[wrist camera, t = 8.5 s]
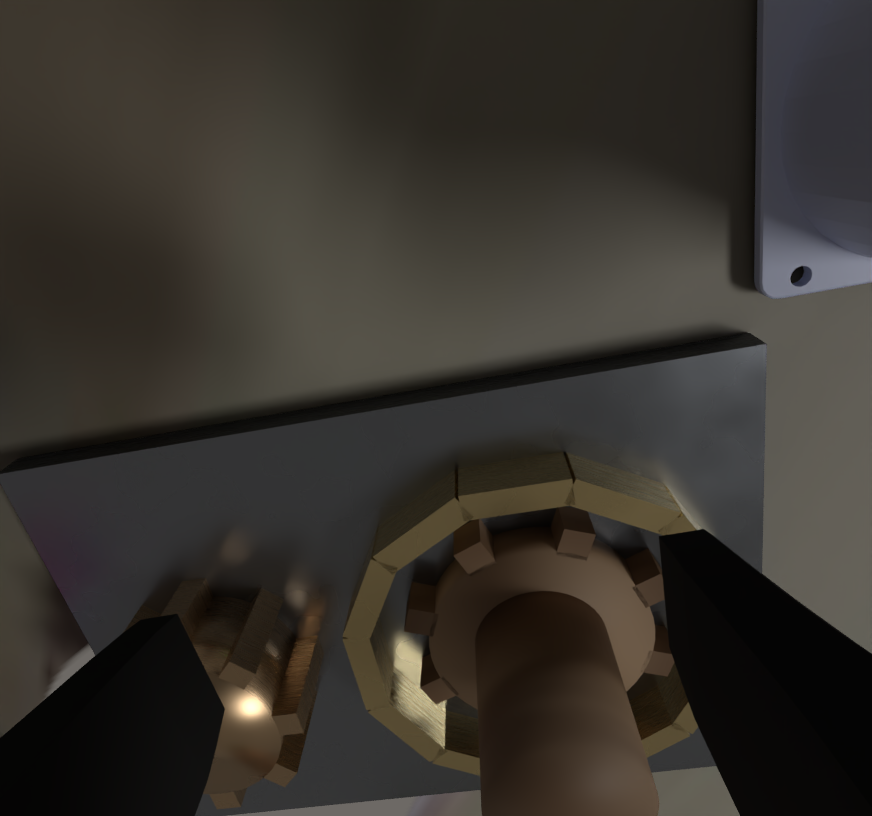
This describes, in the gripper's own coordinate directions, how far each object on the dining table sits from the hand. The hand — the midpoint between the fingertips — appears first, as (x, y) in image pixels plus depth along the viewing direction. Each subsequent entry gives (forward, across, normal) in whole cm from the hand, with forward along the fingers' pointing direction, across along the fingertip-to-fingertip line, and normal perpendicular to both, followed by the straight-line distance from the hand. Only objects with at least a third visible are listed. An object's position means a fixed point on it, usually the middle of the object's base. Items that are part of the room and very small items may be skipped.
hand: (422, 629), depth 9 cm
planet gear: (+8, -2, +8) cm, 12 cm away
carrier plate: (+9, +2, +8) cm, 12 cm away
